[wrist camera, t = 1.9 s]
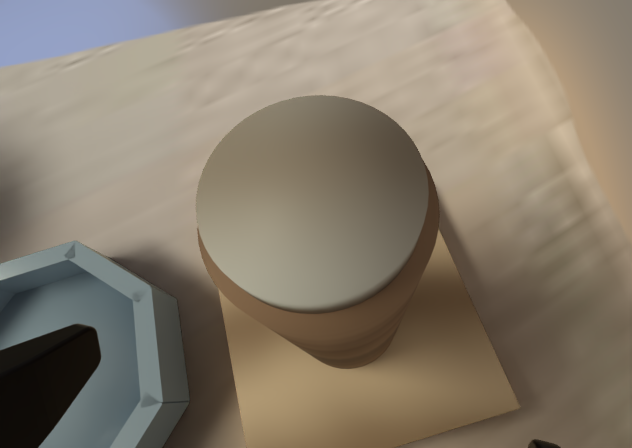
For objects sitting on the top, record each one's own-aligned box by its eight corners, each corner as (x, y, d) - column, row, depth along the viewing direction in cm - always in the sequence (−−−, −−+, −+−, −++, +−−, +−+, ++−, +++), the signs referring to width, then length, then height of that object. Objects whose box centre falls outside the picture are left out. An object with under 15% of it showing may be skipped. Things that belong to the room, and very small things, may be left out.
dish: (201, 489, 16) (173, 505, 14) (-70, 573, 16) (-144, 604, 14) (169, 238, 21) (144, 219, 19) (-40, 302, 21) (-91, 291, 19)
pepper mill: (412, 350, 17) (499, 271, 6) (310, 382, 17) (199, 363, 6) (376, 253, 19) (390, 55, 8) (284, 282, 19) (165, 124, 8)
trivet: (512, 407, 16) (520, 408, 15) (260, 485, 16) (254, 491, 15) (413, 188, 21) (415, 178, 20) (216, 249, 21) (210, 242, 20)
